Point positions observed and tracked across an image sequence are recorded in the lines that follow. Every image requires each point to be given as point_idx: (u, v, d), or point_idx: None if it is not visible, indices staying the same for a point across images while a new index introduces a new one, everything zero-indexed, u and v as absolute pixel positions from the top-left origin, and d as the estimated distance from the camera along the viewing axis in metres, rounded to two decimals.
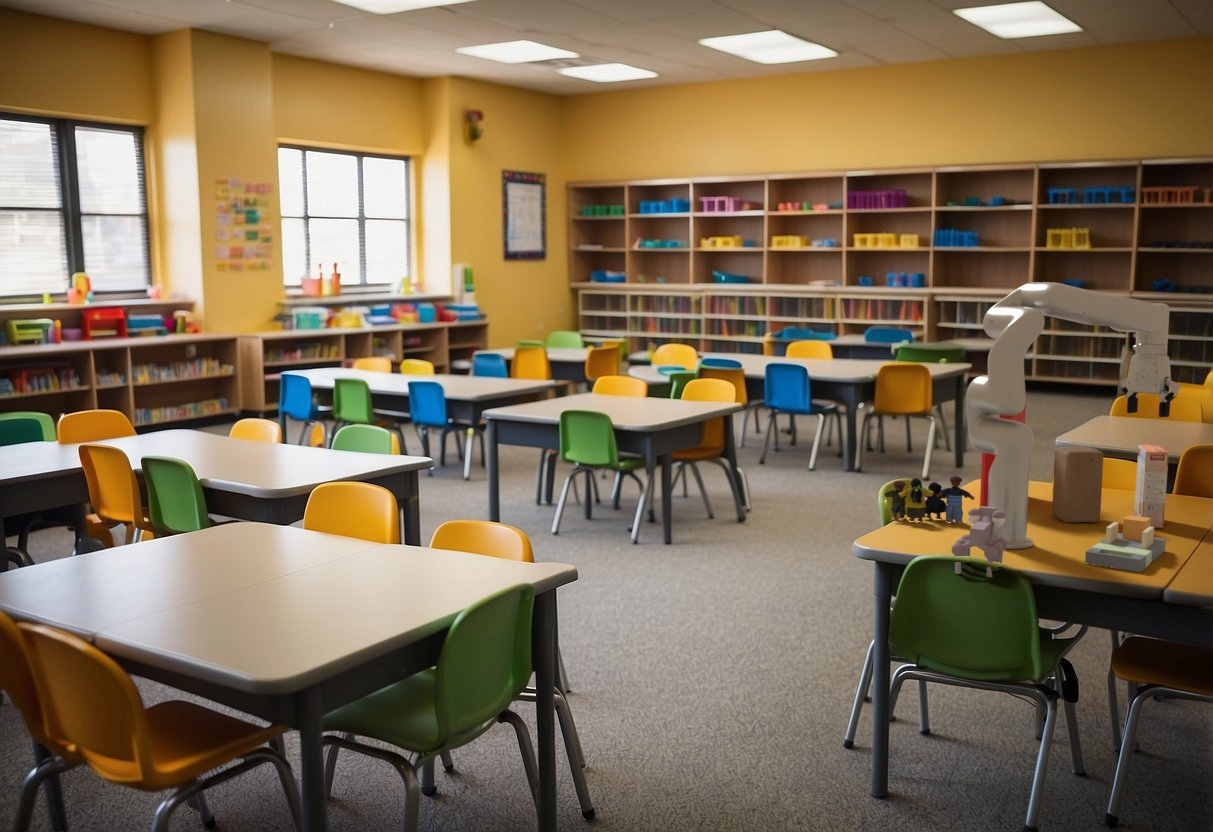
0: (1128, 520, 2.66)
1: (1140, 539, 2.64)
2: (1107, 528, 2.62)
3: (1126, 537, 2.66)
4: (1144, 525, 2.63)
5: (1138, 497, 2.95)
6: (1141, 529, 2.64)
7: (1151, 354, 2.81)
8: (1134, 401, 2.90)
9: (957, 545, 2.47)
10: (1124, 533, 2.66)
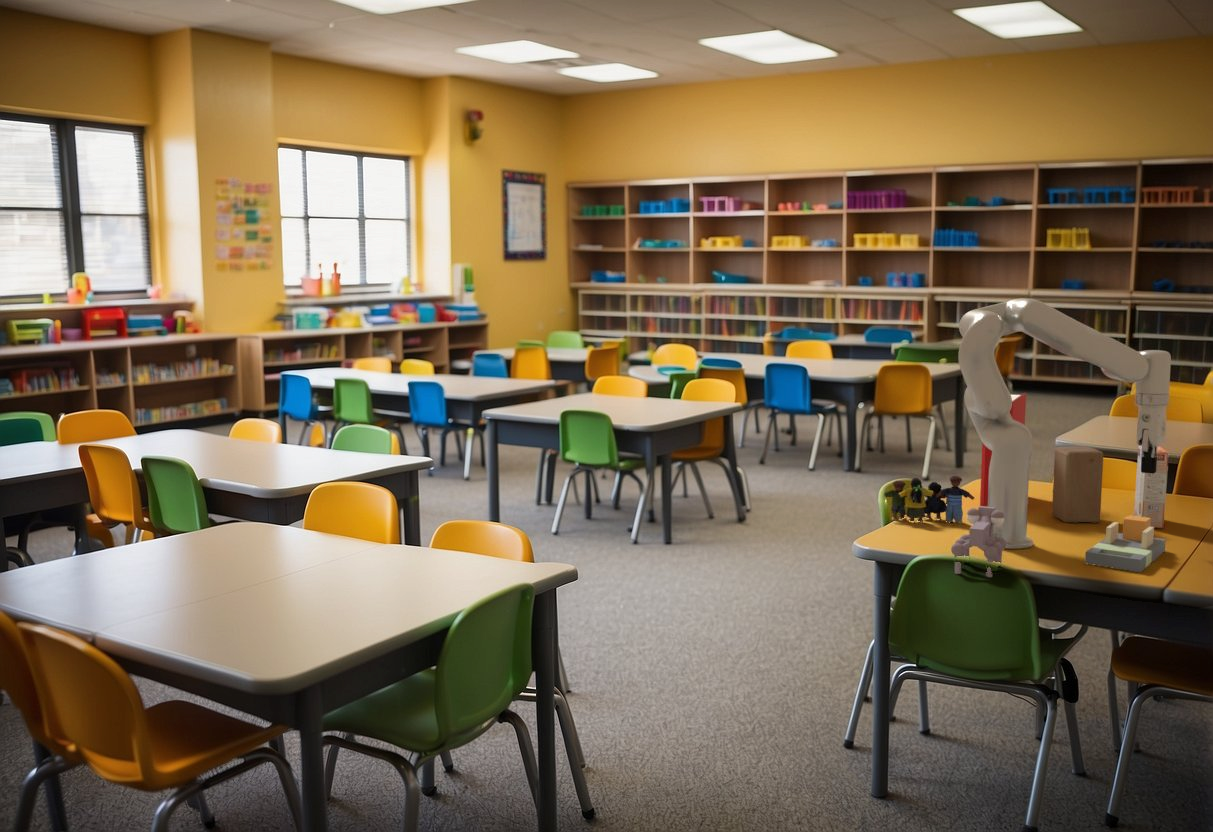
0: (1128, 520, 2.66)
1: (1140, 539, 2.64)
2: (1107, 528, 2.62)
3: (1126, 537, 2.66)
4: (1144, 525, 2.63)
5: (1138, 497, 2.95)
6: (1141, 529, 2.64)
7: None
8: None
9: (957, 545, 2.47)
10: (1124, 533, 2.66)
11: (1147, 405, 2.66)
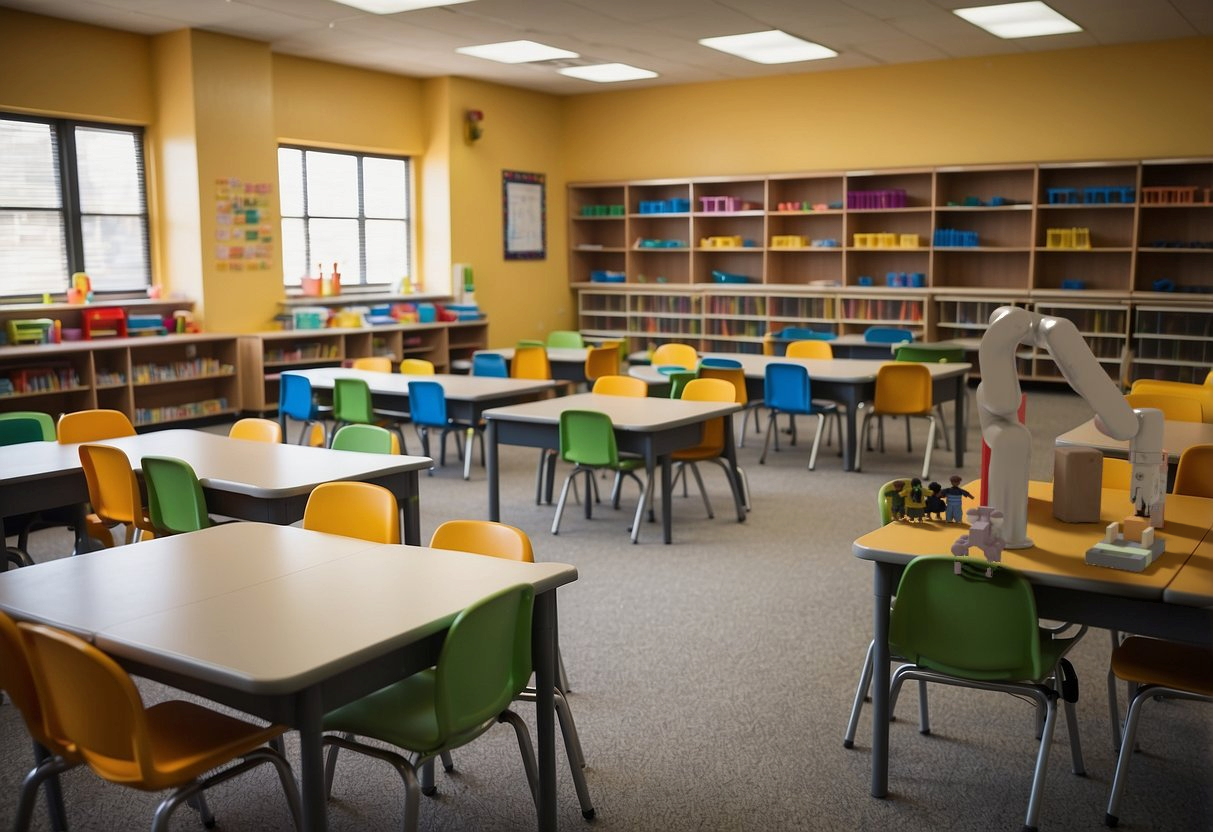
0: (1128, 521, 2.65)
1: (1141, 540, 2.64)
2: (1107, 528, 2.62)
3: (1126, 538, 2.66)
4: (1145, 526, 2.63)
5: None
6: (1141, 530, 2.63)
7: None
8: None
9: (957, 545, 2.47)
10: (1124, 534, 2.66)
11: (1141, 463, 2.65)
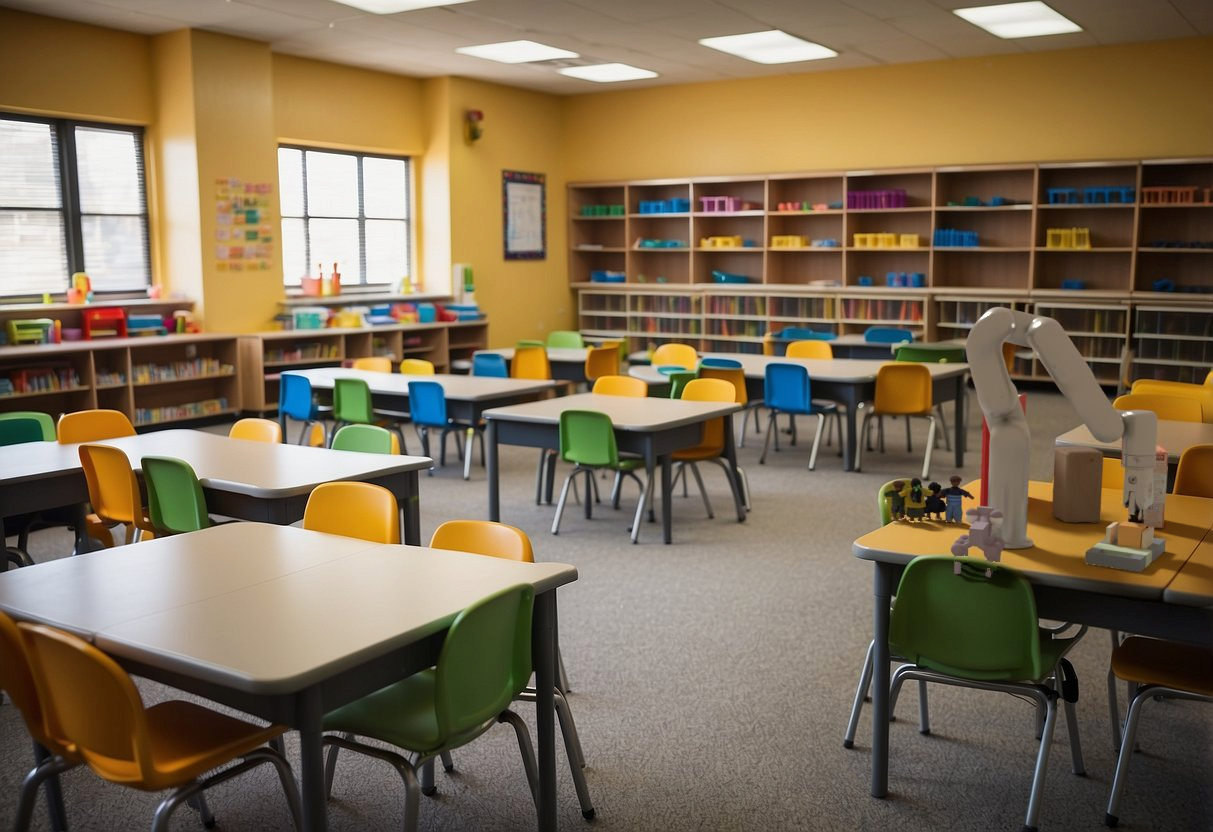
0: (1123, 526, 2.59)
1: (1135, 546, 2.58)
2: (1107, 528, 2.62)
3: (1121, 544, 2.60)
4: (1140, 531, 2.57)
5: None
6: (1136, 536, 2.57)
7: None
8: None
9: (956, 545, 2.47)
10: (1119, 540, 2.60)
11: (1133, 467, 2.60)
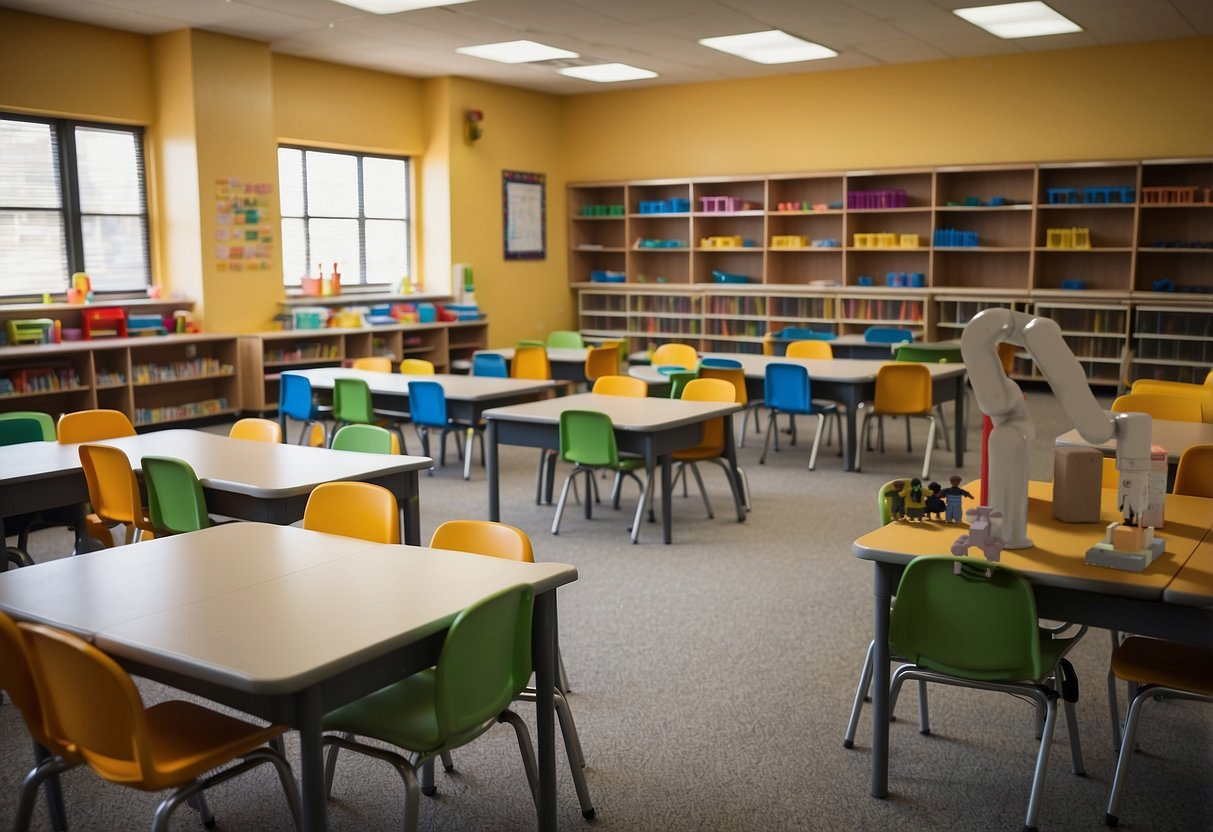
0: (1119, 530, 2.55)
1: (1131, 550, 2.54)
2: (1107, 528, 2.62)
3: (1117, 548, 2.56)
4: (1135, 536, 2.53)
5: None
6: (1132, 540, 2.53)
7: None
8: None
9: (956, 545, 2.47)
10: (1115, 544, 2.56)
11: (1128, 470, 2.56)
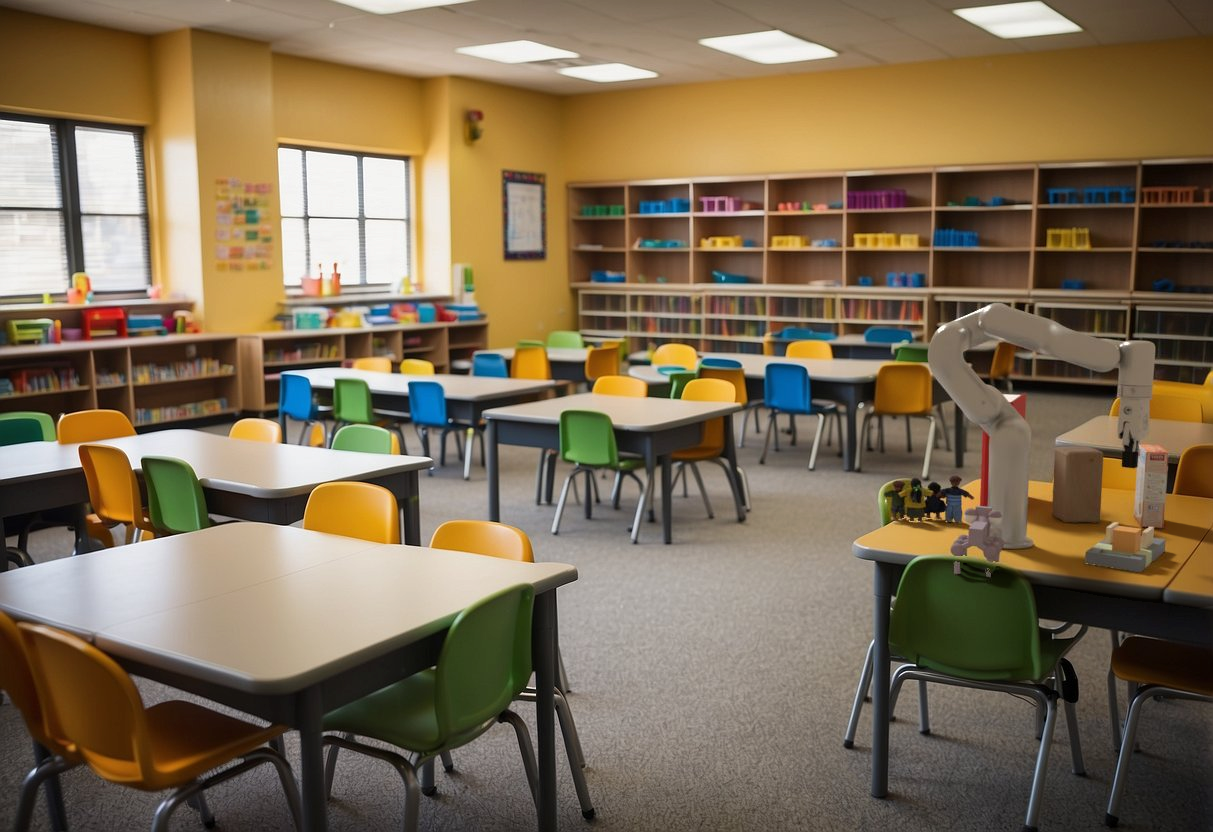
0: (1118, 531, 2.55)
1: (1130, 551, 2.53)
2: (1107, 528, 2.62)
3: (1116, 549, 2.55)
4: (1134, 536, 2.52)
5: (1138, 497, 2.95)
6: (1131, 541, 2.53)
7: None
8: None
9: (956, 545, 2.47)
10: (1113, 545, 2.55)
11: (1129, 397, 2.57)
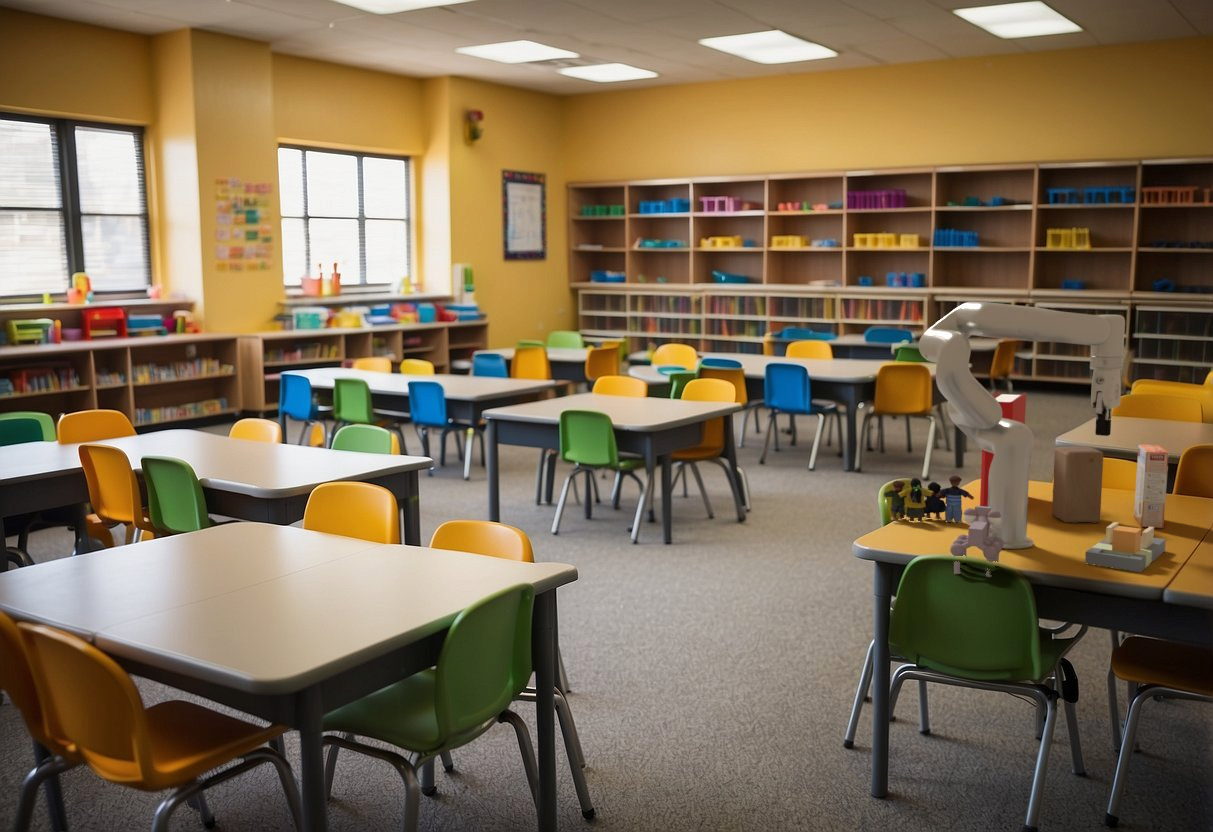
0: (1118, 531, 2.55)
1: (1130, 551, 2.53)
2: (1107, 528, 2.62)
3: (1116, 549, 2.55)
4: (1134, 536, 2.52)
5: (1138, 497, 2.95)
6: (1131, 541, 2.53)
7: None
8: None
9: (956, 545, 2.47)
10: (1113, 545, 2.55)
11: (1101, 368, 2.71)
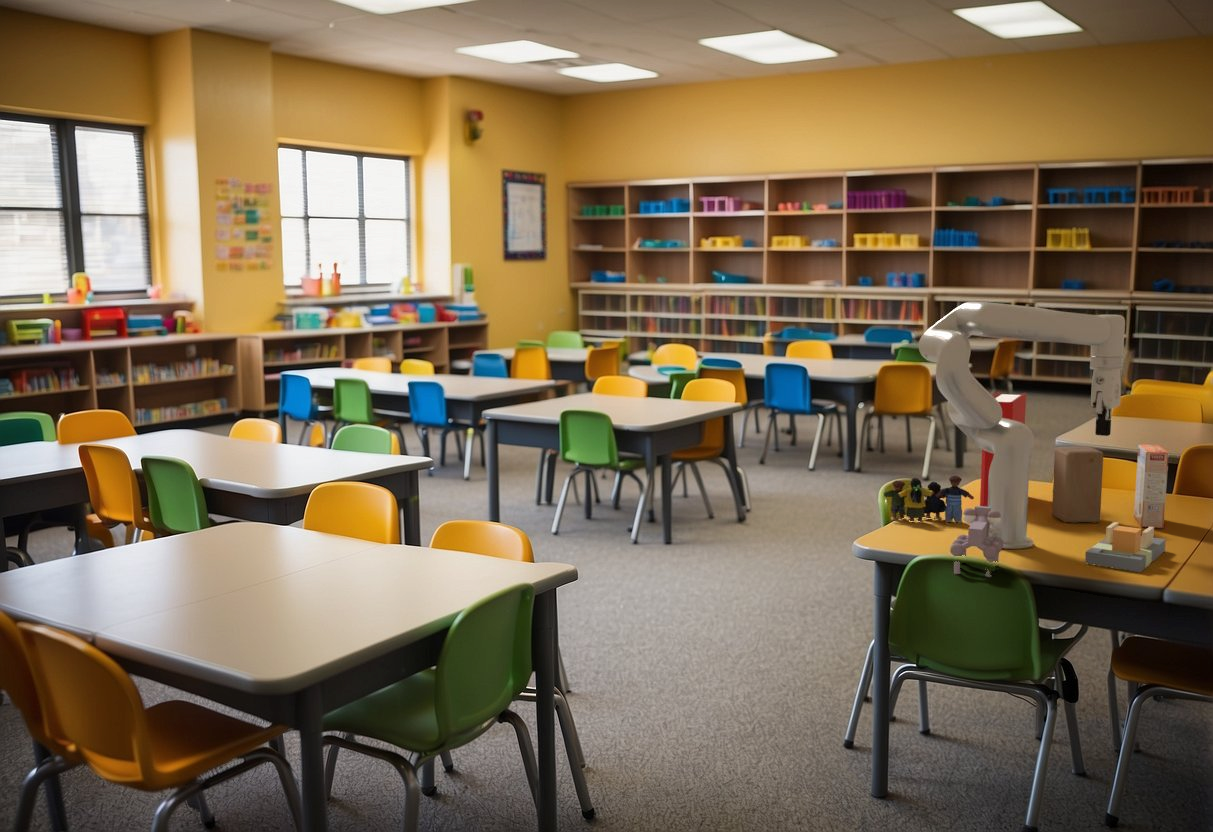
0: (1118, 531, 2.55)
1: (1130, 551, 2.53)
2: (1107, 528, 2.62)
3: (1116, 549, 2.55)
4: (1134, 536, 2.52)
5: (1138, 497, 2.95)
6: (1131, 541, 2.53)
7: None
8: None
9: (956, 545, 2.47)
10: (1113, 545, 2.55)
11: (1101, 368, 2.71)
